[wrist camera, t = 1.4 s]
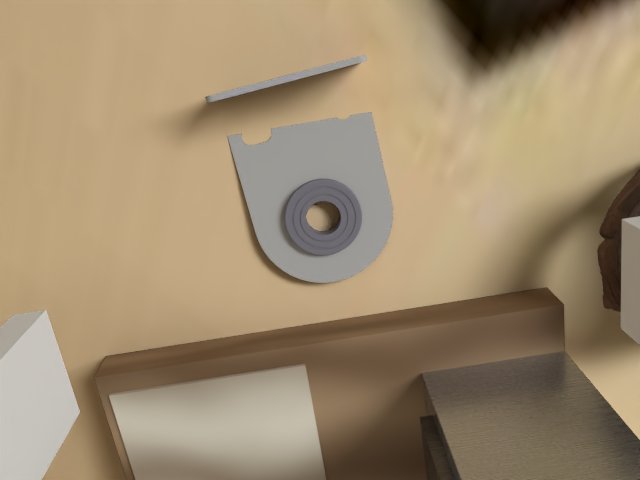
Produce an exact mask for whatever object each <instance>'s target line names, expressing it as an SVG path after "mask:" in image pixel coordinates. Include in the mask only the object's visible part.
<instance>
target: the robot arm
mask: <svg viewBox="0 0 640 480" xmlns="http://www.w3.org/2000/svg"><path fill="white" fill-rule="evenodd" d="M621 329H622V330H623V331H624V332H625V333H626V334H628V335H629V336H630V337H631V338H632V339H633V340H634V341H635V342H637V343H638V344H639V345H640V216H638V217H632V218H625V219H622V250H621ZM79 413H80V411H79V408H78V405H77V402H76V399H75V396H74V393H73V390H72V387H71V383H70V380H69V377H68V374H67V371H66V368H65V365H64V362H63V359H62V356H61V353H60V350H59V347H58V344H57V341H56V338H55V335H54V332H53V329H52V326H51V323H50V320H49V317H48V314H47V311H46V310H41V311H34V312H28V313H22V314H15V315H12V316H11V317H10V318H9V319H8V320H7V321H6V322H5V323H4V324H3V325H2V326H1V327H0V480H42V478H43V476H44V475H45V473H46V471H47V469H48V468H49V466H50V464H51V462H52V461H53V459H54V457H55V455H56V454H57V452H58V450H59V448H60V447H61V445H62V443H63V441H64V439H65V438H66V436H67V434H68V432H69V431H70V429H71V427H72V425H73V424H74V422H75V420H76V418H77V417H78V415H79Z"/></svg>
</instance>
